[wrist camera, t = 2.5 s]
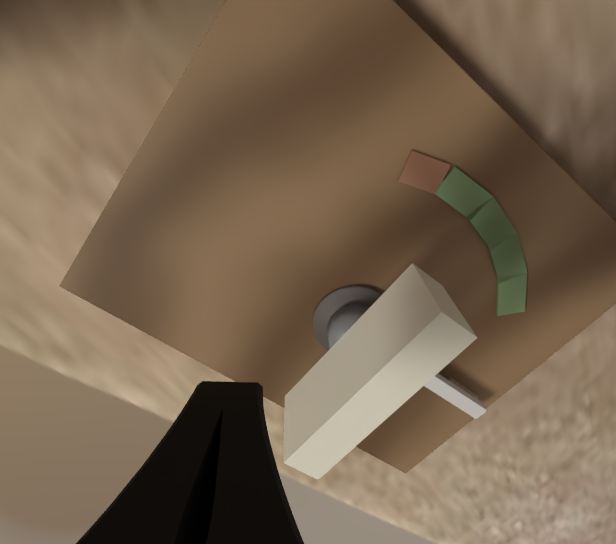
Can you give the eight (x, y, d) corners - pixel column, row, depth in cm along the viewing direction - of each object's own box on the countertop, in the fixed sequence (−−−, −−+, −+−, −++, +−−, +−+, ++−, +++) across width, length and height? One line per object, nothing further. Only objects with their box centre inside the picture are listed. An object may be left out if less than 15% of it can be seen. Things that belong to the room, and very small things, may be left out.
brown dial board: (640, 255, 19) (666, 270, 18) (400, 455, 25) (407, 478, 23) (287, -92, 13) (287, -109, 12) (72, 272, 19) (55, 289, 17)
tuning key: (542, 354, 19) (611, 434, 15) (420, 453, 22) (450, 544, 18) (397, 244, 17) (432, 305, 12) (278, 372, 19) (274, 458, 15)
